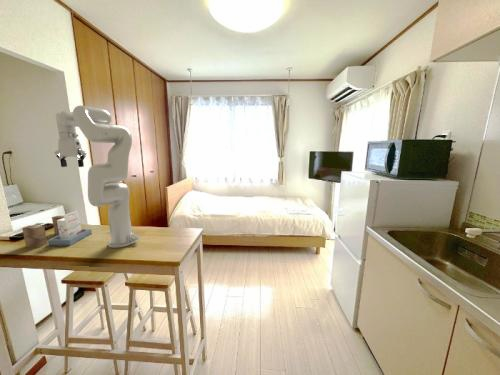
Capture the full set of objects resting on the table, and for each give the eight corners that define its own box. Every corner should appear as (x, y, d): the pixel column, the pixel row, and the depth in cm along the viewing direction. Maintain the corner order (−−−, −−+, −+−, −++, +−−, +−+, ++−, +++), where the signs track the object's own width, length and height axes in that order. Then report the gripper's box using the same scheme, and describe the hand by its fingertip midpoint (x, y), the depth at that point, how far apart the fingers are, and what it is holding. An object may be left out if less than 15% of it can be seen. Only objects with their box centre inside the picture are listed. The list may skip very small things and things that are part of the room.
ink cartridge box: (74, 234, 119) (70, 209, 116) (82, 235, 118) (78, 210, 116) (59, 241, 110) (55, 214, 108) (68, 241, 110) (64, 215, 107)
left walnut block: (47, 243, 109) (44, 225, 107) (41, 246, 106) (38, 227, 104) (32, 243, 109) (28, 225, 107) (26, 246, 106) (22, 227, 104)
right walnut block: (72, 231, 125) (70, 215, 123) (68, 233, 122) (65, 217, 120) (59, 231, 125) (56, 215, 123) (54, 233, 122) (51, 217, 120)
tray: (91, 233, 122) (91, 228, 121) (70, 245, 107) (69, 240, 107) (72, 233, 122) (72, 228, 121) (48, 245, 107) (47, 240, 107)
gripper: (88, 136, 122) (92, 166, 125) (58, 136, 121) (63, 166, 125) (78, 136, 114) (82, 167, 117) (46, 135, 114) (51, 167, 117)
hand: (72, 166), depth 121 cm, fingers open, 9 cm apart
